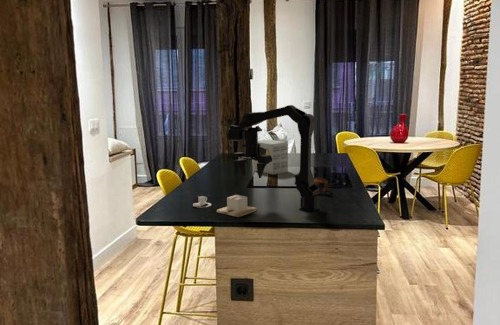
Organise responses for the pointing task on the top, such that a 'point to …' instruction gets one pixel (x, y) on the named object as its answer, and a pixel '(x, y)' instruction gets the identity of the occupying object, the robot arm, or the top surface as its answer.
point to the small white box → (237, 203)
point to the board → (236, 213)
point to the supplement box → (275, 156)
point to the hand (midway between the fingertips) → (251, 176)
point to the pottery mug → (321, 184)
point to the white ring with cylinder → (201, 202)
